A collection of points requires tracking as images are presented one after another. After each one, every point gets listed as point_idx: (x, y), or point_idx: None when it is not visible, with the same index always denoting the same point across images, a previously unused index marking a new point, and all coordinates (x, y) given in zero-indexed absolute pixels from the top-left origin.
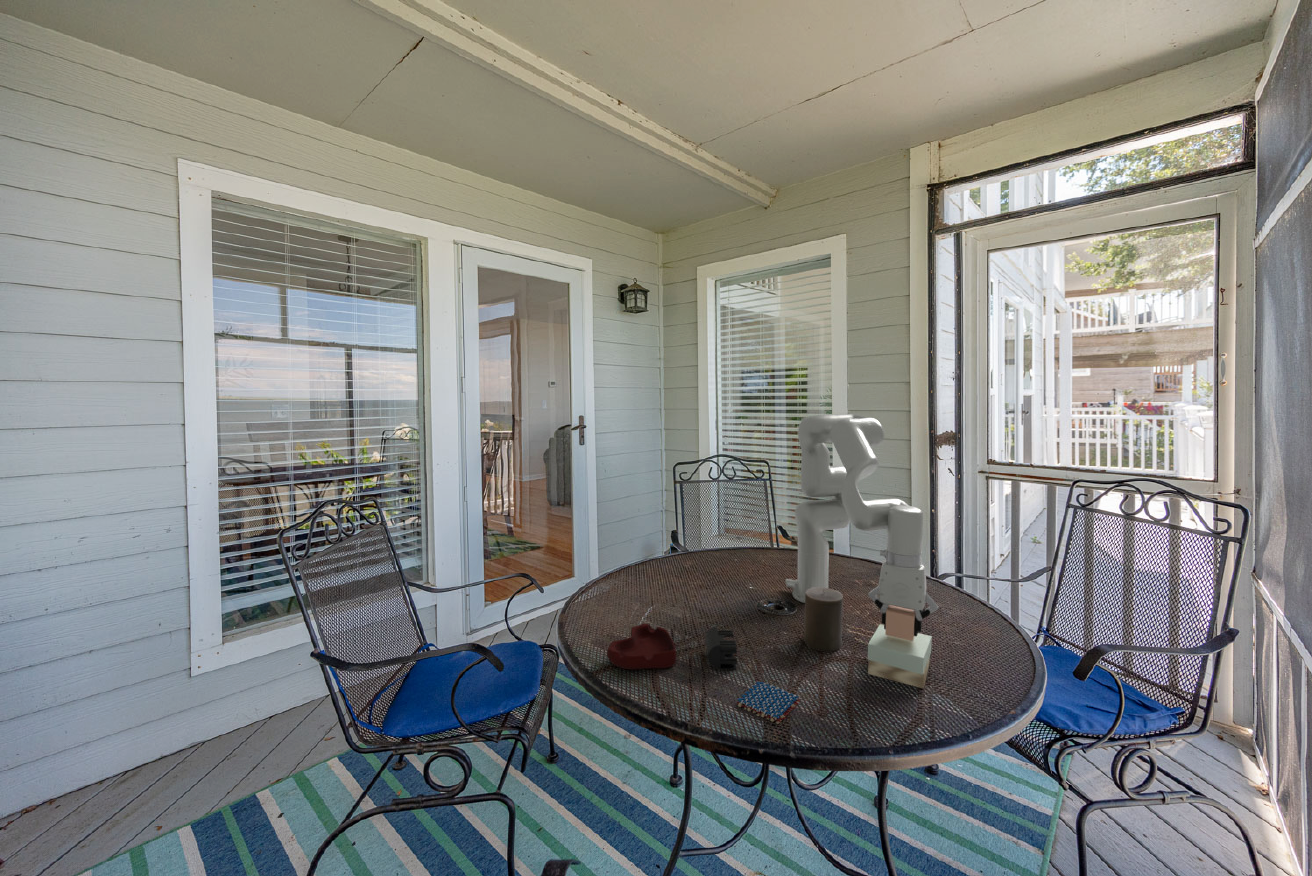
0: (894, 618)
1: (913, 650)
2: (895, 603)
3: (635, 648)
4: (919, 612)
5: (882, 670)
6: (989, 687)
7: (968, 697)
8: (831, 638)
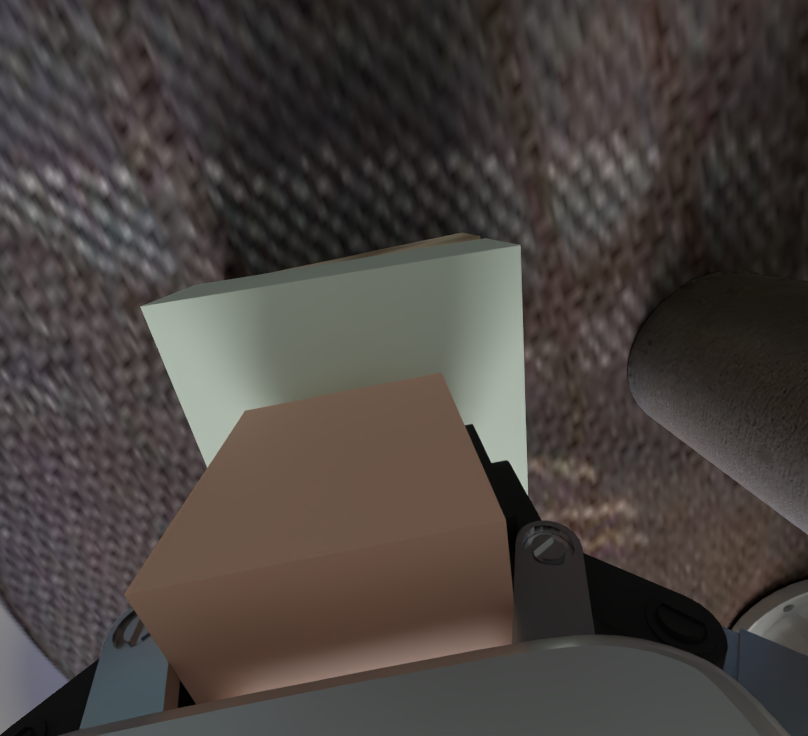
0: (383, 483)
1: (242, 363)
2: (389, 732)
3: None
4: (89, 715)
5: (401, 248)
6: (59, 464)
7: (64, 342)
8: (711, 323)
